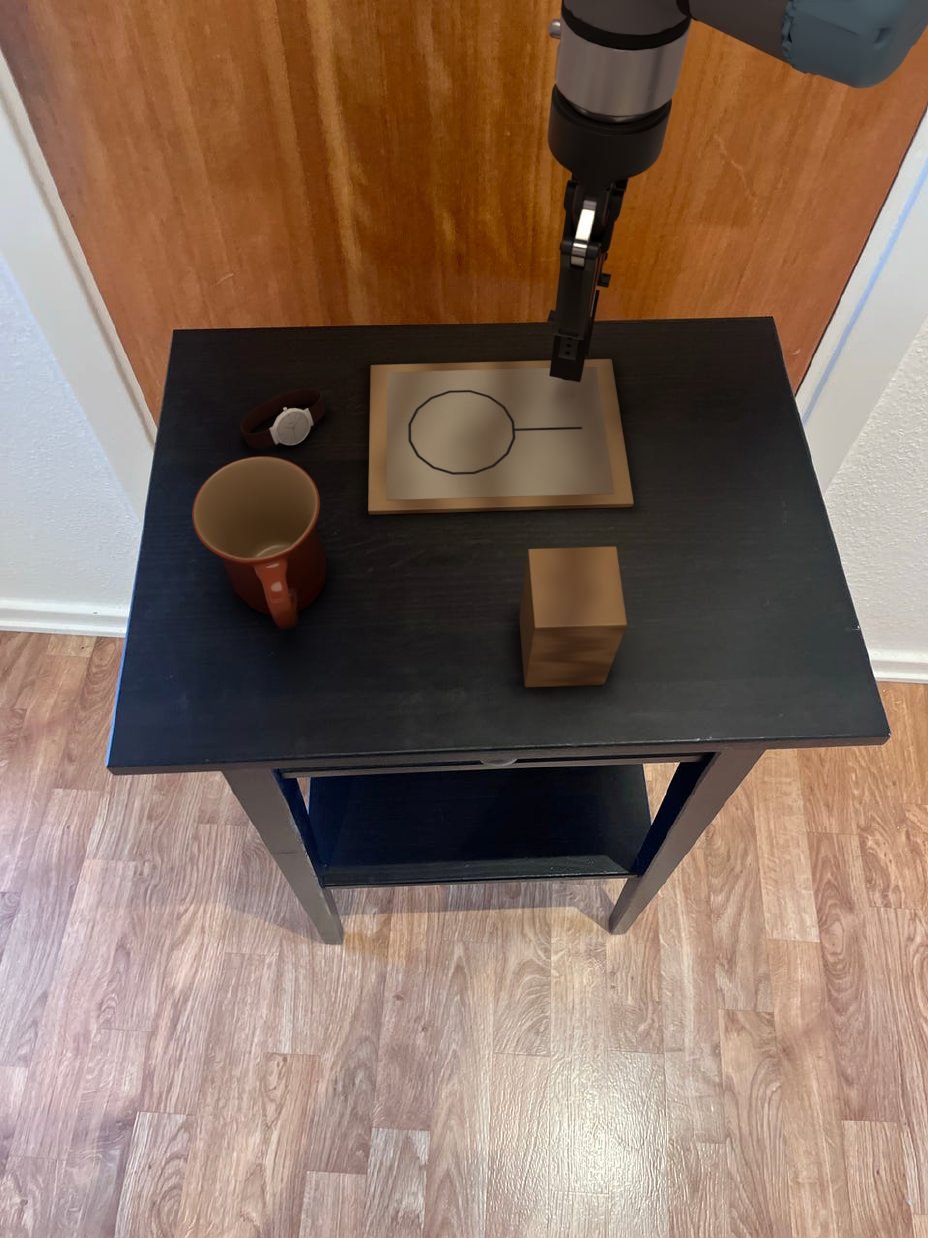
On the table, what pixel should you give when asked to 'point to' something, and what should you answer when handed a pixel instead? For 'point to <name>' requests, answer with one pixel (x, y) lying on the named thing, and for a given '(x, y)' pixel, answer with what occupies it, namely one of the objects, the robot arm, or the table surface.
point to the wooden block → (571, 616)
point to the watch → (284, 418)
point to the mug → (265, 533)
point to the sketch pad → (494, 438)
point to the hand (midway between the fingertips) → (569, 362)
